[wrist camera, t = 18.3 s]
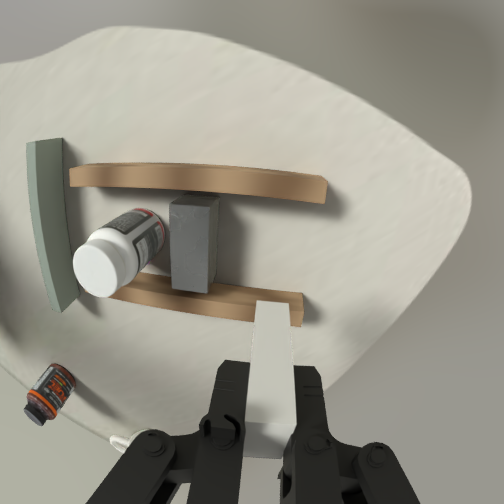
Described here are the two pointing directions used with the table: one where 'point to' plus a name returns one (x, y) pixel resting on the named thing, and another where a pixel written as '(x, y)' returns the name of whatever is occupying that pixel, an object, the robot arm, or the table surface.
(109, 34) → the table surface
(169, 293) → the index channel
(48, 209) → the door edge rail
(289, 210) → the table surface
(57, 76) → the table surface
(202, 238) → the tall gray brick
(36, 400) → the supplement bottle
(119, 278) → the pill bottle
